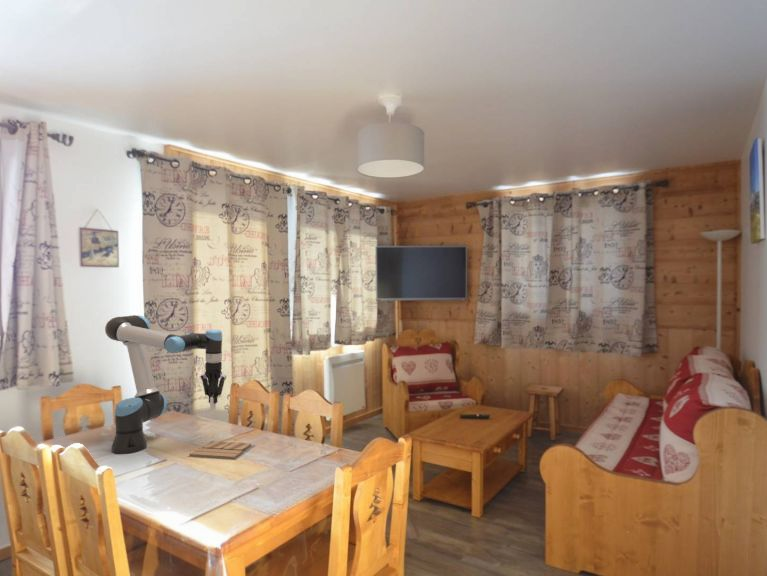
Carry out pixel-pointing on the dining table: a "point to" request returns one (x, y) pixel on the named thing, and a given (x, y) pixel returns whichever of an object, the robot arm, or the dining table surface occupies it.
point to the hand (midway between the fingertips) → (213, 409)
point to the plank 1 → (216, 445)
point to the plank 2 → (237, 446)
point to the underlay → (219, 453)
